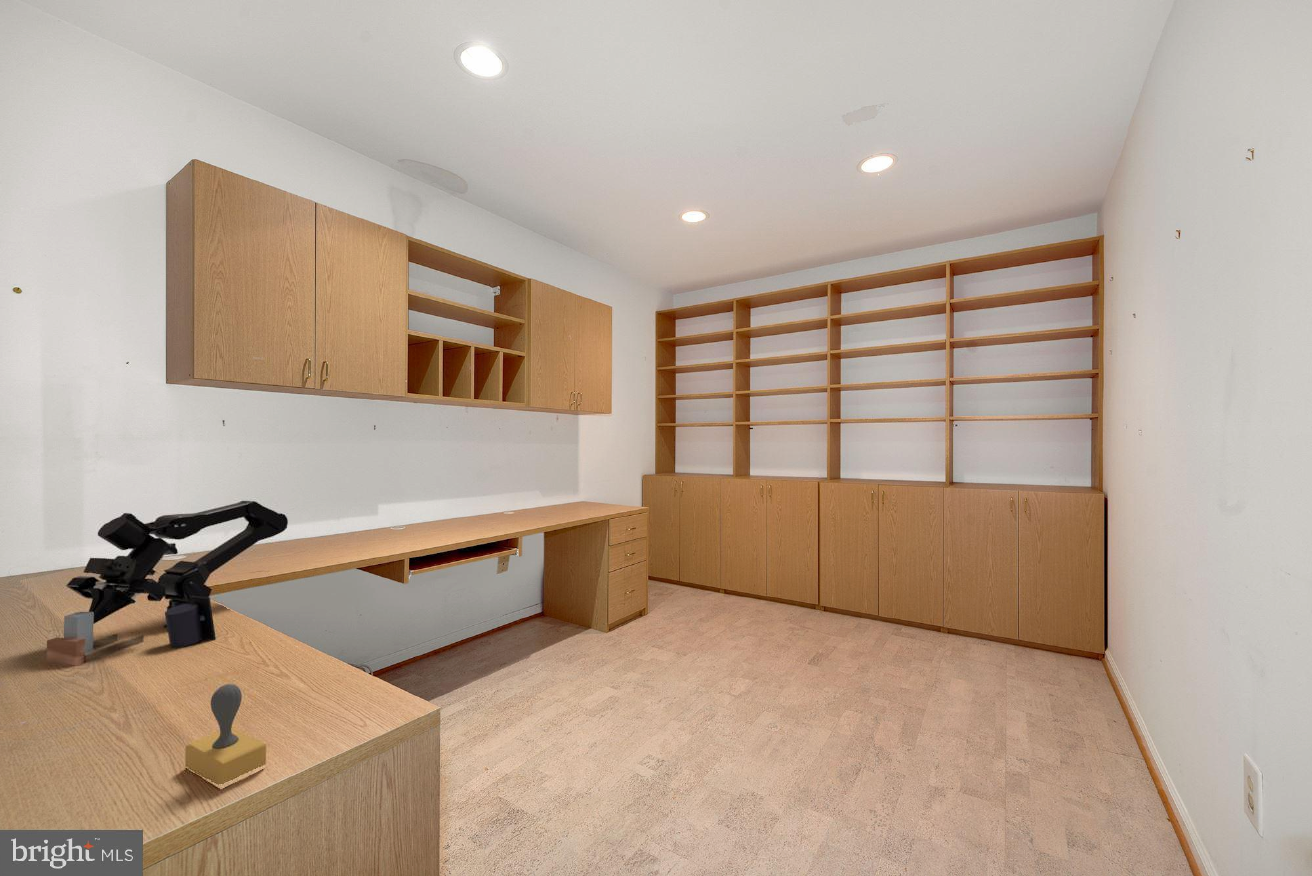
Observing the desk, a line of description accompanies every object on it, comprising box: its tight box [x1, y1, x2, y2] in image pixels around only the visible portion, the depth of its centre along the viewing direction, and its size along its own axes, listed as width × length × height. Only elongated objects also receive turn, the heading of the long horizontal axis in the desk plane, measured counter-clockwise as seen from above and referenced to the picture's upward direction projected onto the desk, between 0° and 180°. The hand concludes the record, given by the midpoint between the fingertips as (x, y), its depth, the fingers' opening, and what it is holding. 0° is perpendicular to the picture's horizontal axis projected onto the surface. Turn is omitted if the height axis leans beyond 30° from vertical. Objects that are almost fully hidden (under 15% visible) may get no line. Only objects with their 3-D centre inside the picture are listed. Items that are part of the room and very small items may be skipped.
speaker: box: [164, 596, 217, 649], centre depth 122 cm, size 8×6×10 cm
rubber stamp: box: [184, 683, 267, 785], centre depth 76 cm, size 10×6×12 cm, turn 62°
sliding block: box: [63, 611, 97, 654], centre depth 112 cm, size 3×5×9 cm, turn 87°
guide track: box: [46, 633, 145, 667], centre depth 116 cm, size 13×7×5 cm, turn 177°
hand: (87, 624), depth 114 cm, fingers closed, pressing on sliding block
